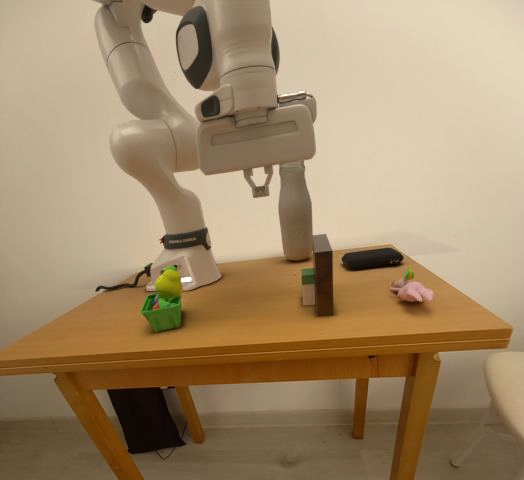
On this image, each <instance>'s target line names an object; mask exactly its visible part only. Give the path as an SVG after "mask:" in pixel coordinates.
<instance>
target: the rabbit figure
mask: <svg viewBox="0 0 524 480" xmlns="http://www.w3.org/2000/svg"><path fill="white" fill-rule="evenodd" d="M403 277H404V278H403V279H398V280H394V279H392V283H391V286H390V287H389V291H394V293H397V295H396V296H397V297H398V298H399V299H401V300H405V301H406V302H410V303H413V302H419V303H422V302H423V298H424V299H426V300H427V301H428V302H432V301H433V299H434V296H435V292H434V291H433V290H432V289H430V288H426V287H425V285H424V284H422V283H421V282H419V281H413V279H414V277H415V274H414V272H413V270H412V269H410V268H408V269H407V272H406V274H405V275H404V276H403Z"/></svg>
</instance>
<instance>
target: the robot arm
mask: <svg viewBox="0 0 524 480" xmlns="http://www.w3.org/2000/svg"><path fill="white" fill-rule="evenodd" d="M91 1H93V2H95V3H98V4H101V6H100V7H99V8H98V9H97V11H96V13H95V16H94V23H93V24H94V31H95V35H96V39H97V44H98V46H99V47H98V48H99V50H100V54H101V56H102V59H103V62H104V64H105V67H106V69H107V71H108V74H109V76H110V79H111V81H112V83H113V85H114V89H115V90H116V92H117V95H118V97H119V100H120V101H121V103H122V105H123V106H124V108H125V110H127V111H128V113H130V114H131V115H132V116H134V117H136V118H137V119H131V120H128V121H124V122H121V123H117V124H115V125H113V127H112V129H111V131H110V133H109V140H108V141H109V150H110V153H111V156H112V158H113V160H114V162H115V163H116V165H117V166H118V167H119V168H120V170H122V172H124V173H126V175H128V176H131V177H132V178H133V179H135V180H136V181H137V182H139V184H141V185H142V186H143V187H144V188H145V190H147V192H148V193H149V194H150V196H151V197H152V199H153V201H154V202H155V205H156V207H157V209H158V212H159V215H160V217H161V218H160V219H161V221H162V224H163V227H164V230H165V234H164V235H163V236H162V237H160V238H159V239H158V241H160V242H159V244H160V245H161V244H162V245H163V248H164V249H163V250H162V251H161V253H160V254H158V256H157V257H156V259H155V260H154V261H153V262H150V263H149V264H147V265H146V266H144V267H143V270H141V271H140V272H138V273H137V274H136V276H135V278H134V282H133V283H128V282H124V283H120V284H116V285H111V286H107V285H98V286H97V287H96V288H95V290H94V292H95V293H97V292H100V290H106V291H112V290H117V289H121V288H124V287H125V288H126V287H127V288H135V287H136V286H137V285H138V284H139V280H140V278H141V277H142V276H143V275H146V277H147V278H150V279H151V280H150V281H149V282H148V283H147V284H146V285H145V290H146V292H157V290H156V289H155V282H156V281H157V280H158V278H159V277H160V276H161V275H162V274H163V273H164V270H165V269H166V268H167V267H169V266H173V267H175V268H177V271H178V272H179V273H180V274H181V282H182V287H183V289H182V292H183V291H184V292H185V291H192V290H195V289H197V288H199V287H202V286H206V285H209V284H211V283H214V282H217V281H218V280H219V279H221V278H222V276H223V275H222V273H221V271H220V269H219V267H218V265H217V261H216V260H215V257H214V253H213V249H212V241H211V236H210V232H209V228H208V227H207V226H206V222H205V217H204V213H203V206H202V202H201V200H200V198H199V196H198V195H197V193H195V192H194V191H192V190H190V189H188V188H186V187H183V186H182V185H181V184H180V183H179V182H178V180H177V179H176V177H175V174H177V173H184V172H192V171H193V172H194V171H197V170H200V172H201V173H202V174H203V175H204V176H215V175H221V174H227V173H234V172H240V171H242V172H243V178H244V179H245V181H246V182H247V184H248V185H249V187H250V188H251V192H252V198H253V199H259V198H264V197H270V186H269V185H270V184H271V182H272V181H271V180H272V178H273V176H274V166H277V165H278V166H279V164H285V163H291V162H298V161H304V162H305V161H310V160H312V159H314V157H315V156H316V154H317V145H316V135H315V128H314V124H315V122H316V120H317V115H318V112H317V100H316V98H315V96H314V95H313V94H311V93H309V92H307V90H298V91H296V92H292V93H291V92H287V93H283V94H278V87H277V85H278V84H277V75H278V73H279V68H280V63H281V62H280V61H281V53H280V52H281V51H280V45H279V41H278V37H277V35H276V32H275V29H274V27H273V22H272V13H271V2H270V0H91ZM158 11H159V12H161V13H166V14H169V15H170V14H171V15H175V16H179V17H181V19H180V21H179V23H178V26H177V28H176V31H175V48H176V54H177V60H178V64H179V67H180V70H181V71H182V74H183V75H184V77H185V79H186V81H187V82H188V83H189V84H190V86H191V87H193V89H195V90H199V91H202V92H211V93H210V94H209V95H208V96H206V97H204V98H203V99H202V100H200V101H198V102H197V103H196V104H195V105H194V115H195V116H193V115H192V114H191V113H189V111H187V109H185V108H184V107H183V105H181V104H180V103H179V101H177V99H176V98H175V96H173V94H172V93H171V91H170V90H169V88H168V86H167V85H166V83H165V81H164V80H163V77H162V75H161V72H160V71H159V68H158V66H157V63H156V61H155V59H154V56H153V54H152V52H151V50H150V47H149V44H148V42H147V40H146V39H145V36H144V33H143V29H142V22H143V23H144V24H150V23H151V22H152V21H153V18H154V15H155V14H156V13H157V12H158ZM307 97H308V98H307ZM259 168H263V170H264V171H263V172H264V174H265V175H266V179H265V181H264V183H263V185H257V184H256V183H255V181H254V180H253V178H252V177H253V176H254V170H253V169H259Z"/></svg>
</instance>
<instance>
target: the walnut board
mask: <svg viewBox="0 0 524 480" xmlns="http://www.w3.org/2000/svg"><path fill="white" fill-rule="evenodd" d="M312 249H313V251H312V268H314V274H315V303H316V304H315V307H316V308H315V309H316V316H317V317H325V316H334V259H333V258H334V254H333V253H334V252H333V249H332V246H331V243H330V240H329V238H328V236H327V233H319V234H313V235H312Z"/></svg>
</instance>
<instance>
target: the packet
mask: <svg viewBox="0 0 524 480" xmlns="http://www.w3.org/2000/svg"><path fill="white" fill-rule="evenodd" d="M300 270H301V271H300V275H301V276H300V277H301V289H302V305H303V306H316V300H315V274H314V268H313V267H309V268H301V269H300Z"/></svg>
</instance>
